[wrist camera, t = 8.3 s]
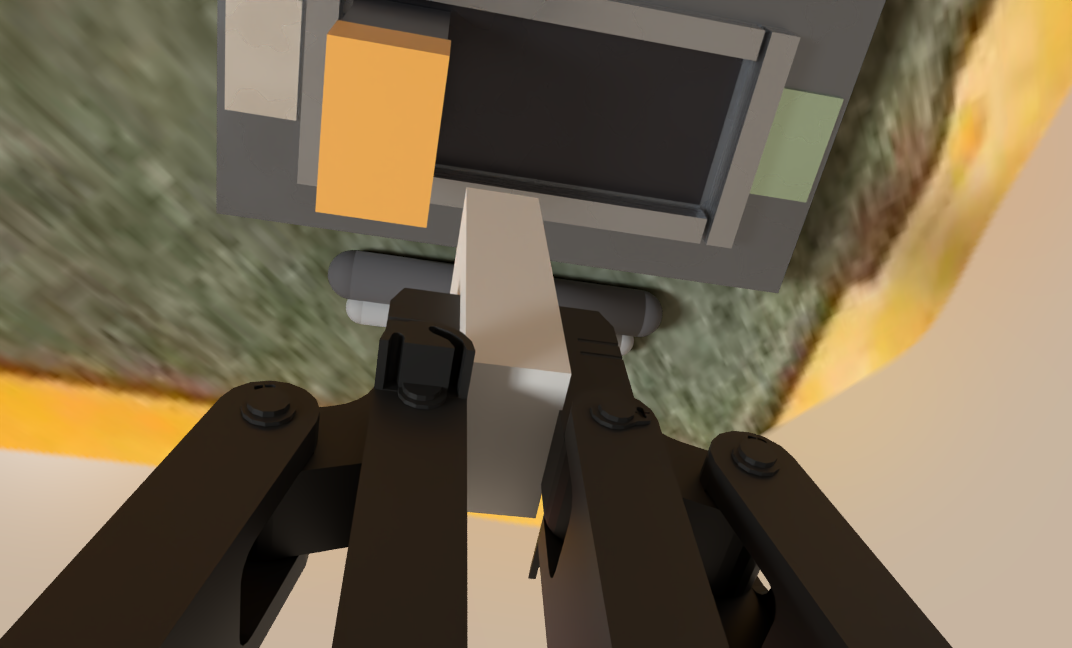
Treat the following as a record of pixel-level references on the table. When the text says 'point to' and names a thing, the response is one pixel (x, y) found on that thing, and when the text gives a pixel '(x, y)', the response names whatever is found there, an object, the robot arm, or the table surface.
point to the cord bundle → (384, 276)
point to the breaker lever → (382, 111)
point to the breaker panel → (576, 123)
